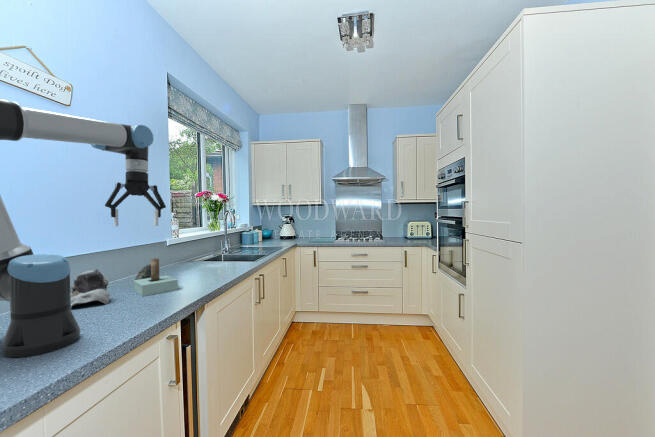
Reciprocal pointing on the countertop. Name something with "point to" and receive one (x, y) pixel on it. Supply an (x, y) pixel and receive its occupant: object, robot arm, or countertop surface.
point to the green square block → (155, 285)
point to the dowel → (155, 270)
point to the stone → (89, 288)
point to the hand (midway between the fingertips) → (136, 226)
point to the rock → (144, 273)
